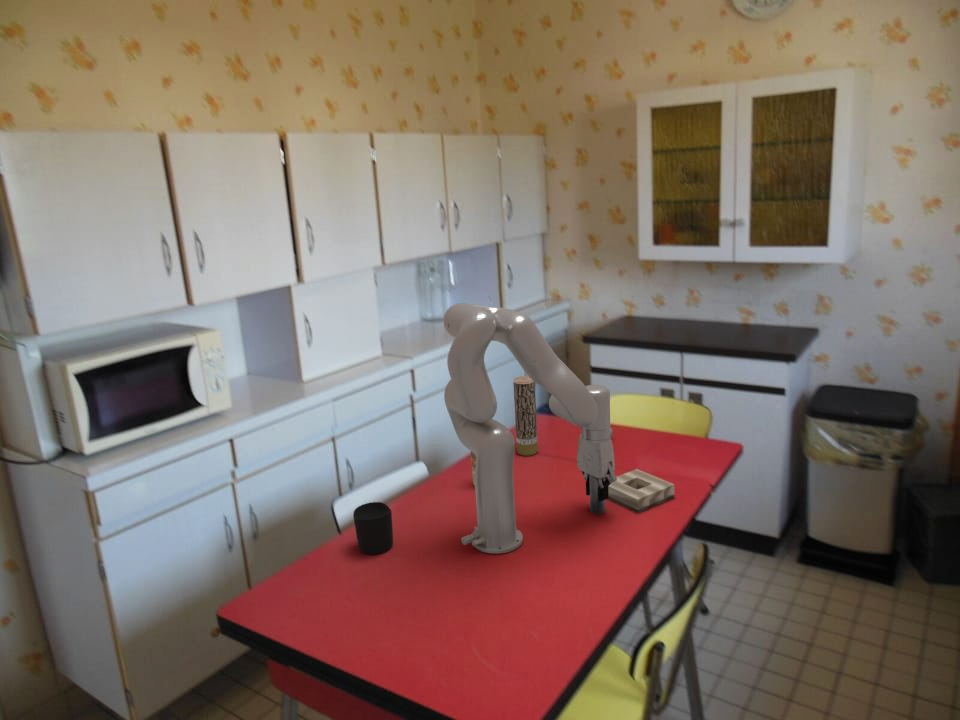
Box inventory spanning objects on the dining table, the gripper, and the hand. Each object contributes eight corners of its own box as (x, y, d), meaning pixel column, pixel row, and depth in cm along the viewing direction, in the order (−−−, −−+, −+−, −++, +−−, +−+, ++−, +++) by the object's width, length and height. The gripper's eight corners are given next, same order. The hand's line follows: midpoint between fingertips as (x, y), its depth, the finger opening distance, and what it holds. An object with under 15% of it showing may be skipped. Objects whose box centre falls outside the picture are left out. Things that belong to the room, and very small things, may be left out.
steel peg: (597, 515, 190) (596, 473, 187) (586, 510, 194) (585, 469, 190) (608, 511, 192) (607, 469, 189) (597, 506, 196) (597, 465, 193)
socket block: (638, 513, 190) (637, 499, 189) (601, 495, 202) (600, 482, 200) (674, 497, 198) (674, 484, 197) (636, 481, 209) (636, 469, 208)
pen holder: (400, 538, 185) (396, 503, 182) (386, 557, 176) (382, 520, 174) (366, 536, 187) (362, 501, 185) (351, 554, 179) (346, 518, 176)
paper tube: (514, 450, 237) (510, 378, 231) (533, 447, 239) (530, 375, 233) (521, 458, 231) (517, 383, 225) (541, 454, 233) (537, 380, 227)
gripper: (563, 427, 192) (565, 490, 197) (607, 444, 178) (608, 512, 183) (584, 420, 196) (586, 482, 201) (629, 437, 182) (630, 503, 187)
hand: (597, 496), depth 192 cm, fingers closed on steel peg, 4 cm apart
